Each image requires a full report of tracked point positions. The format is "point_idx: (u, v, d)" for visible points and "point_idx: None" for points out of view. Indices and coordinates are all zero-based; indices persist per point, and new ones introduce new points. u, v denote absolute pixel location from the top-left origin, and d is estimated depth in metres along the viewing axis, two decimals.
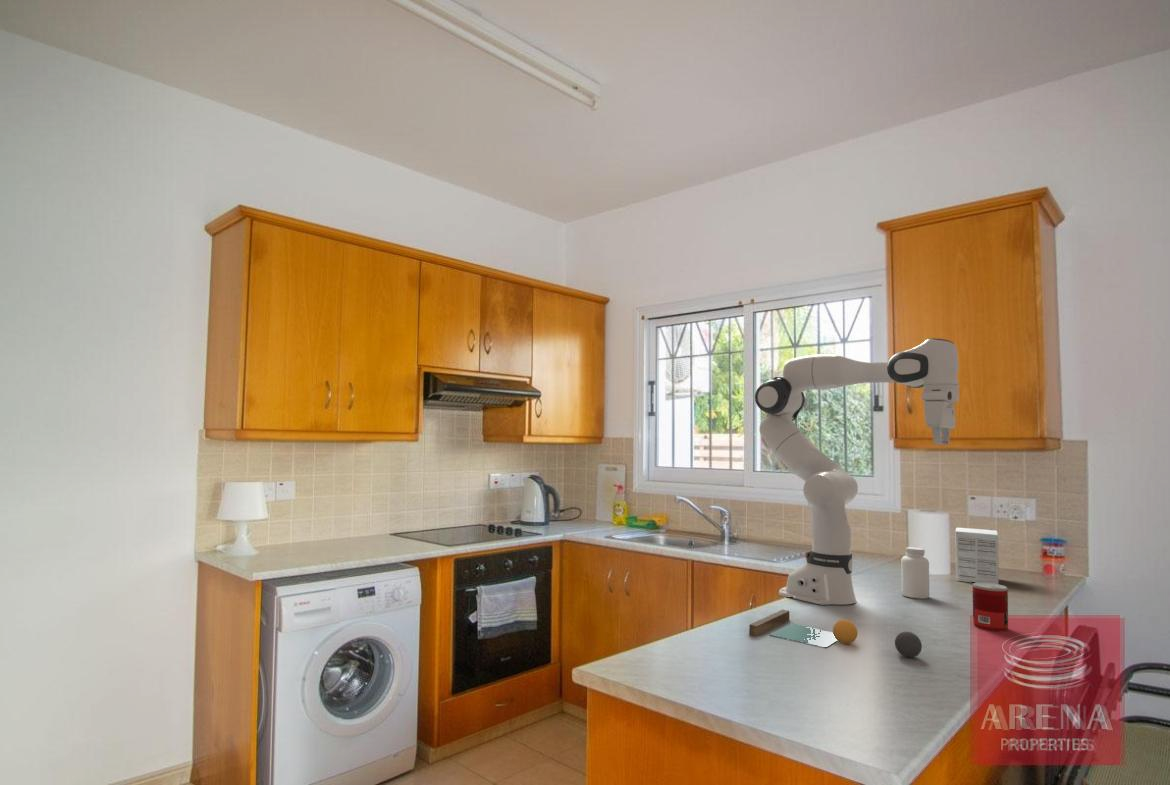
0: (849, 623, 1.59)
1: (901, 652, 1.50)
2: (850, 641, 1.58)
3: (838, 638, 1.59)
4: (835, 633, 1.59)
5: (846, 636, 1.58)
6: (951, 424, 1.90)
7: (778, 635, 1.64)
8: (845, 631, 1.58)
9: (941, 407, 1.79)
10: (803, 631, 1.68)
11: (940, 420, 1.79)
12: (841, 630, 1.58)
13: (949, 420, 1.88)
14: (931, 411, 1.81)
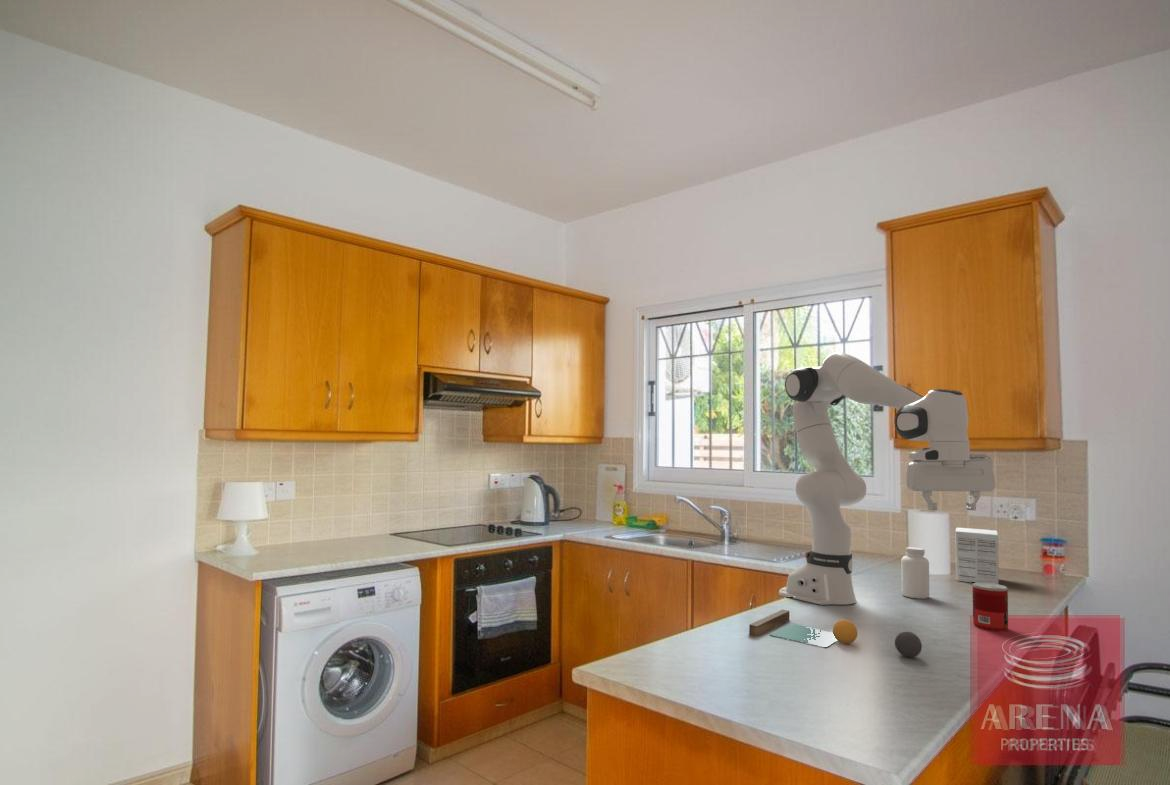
0: (849, 623, 1.59)
1: (901, 652, 1.50)
2: (850, 641, 1.58)
3: (838, 638, 1.59)
4: (835, 633, 1.59)
5: (846, 636, 1.58)
6: (971, 486, 1.63)
7: (778, 635, 1.64)
8: (845, 631, 1.58)
9: (915, 468, 1.63)
10: (803, 631, 1.68)
11: (913, 483, 1.63)
12: (841, 630, 1.58)
13: (960, 482, 1.63)
14: (909, 473, 1.66)
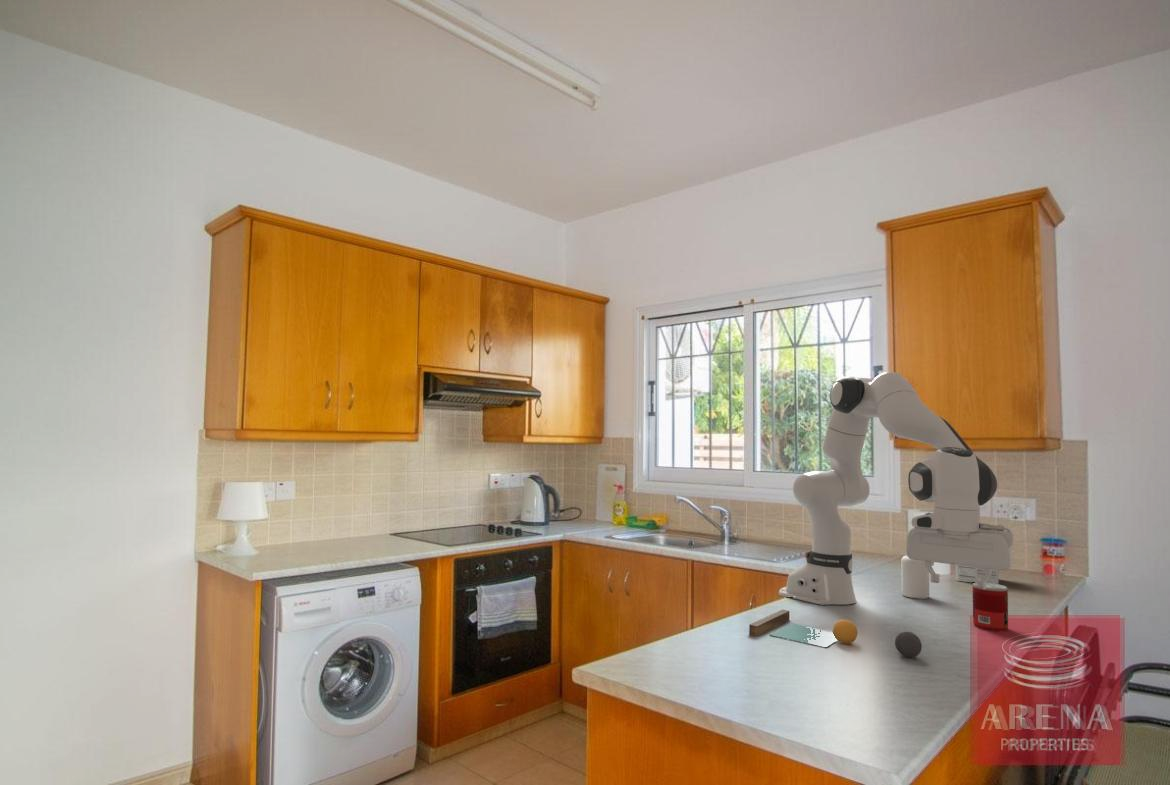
0: (849, 623, 1.59)
1: (901, 652, 1.50)
2: (850, 641, 1.58)
3: (838, 638, 1.59)
4: (835, 633, 1.59)
5: (846, 636, 1.58)
6: (976, 562, 1.42)
7: (778, 635, 1.64)
8: (845, 631, 1.58)
9: (908, 535, 1.51)
10: (803, 631, 1.68)
11: (906, 550, 1.51)
12: (841, 630, 1.58)
13: (962, 555, 1.44)
14: None
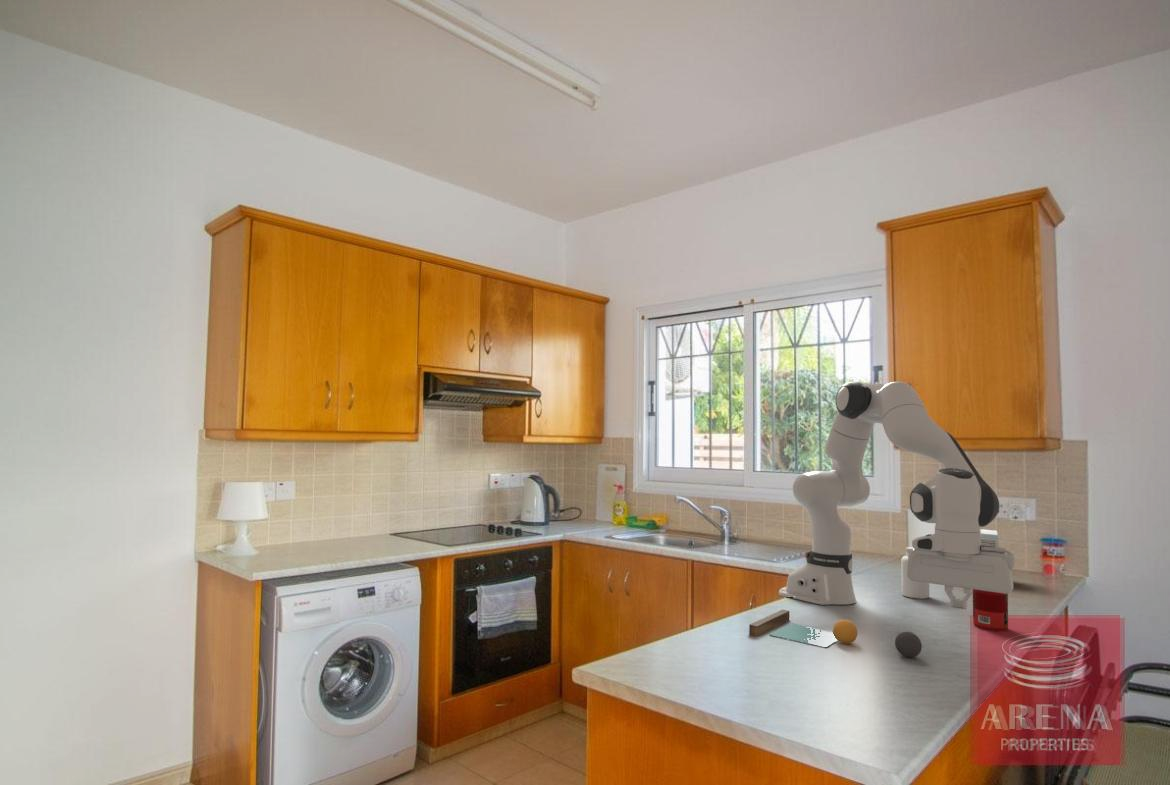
0: (849, 623, 1.59)
1: (901, 652, 1.50)
2: (850, 641, 1.58)
3: (838, 638, 1.59)
4: (835, 633, 1.59)
5: (846, 636, 1.58)
6: (977, 584, 1.42)
7: (778, 635, 1.64)
8: (845, 631, 1.58)
9: None
10: (803, 631, 1.68)
11: (907, 572, 1.51)
12: (841, 630, 1.58)
13: (963, 577, 1.44)
14: None
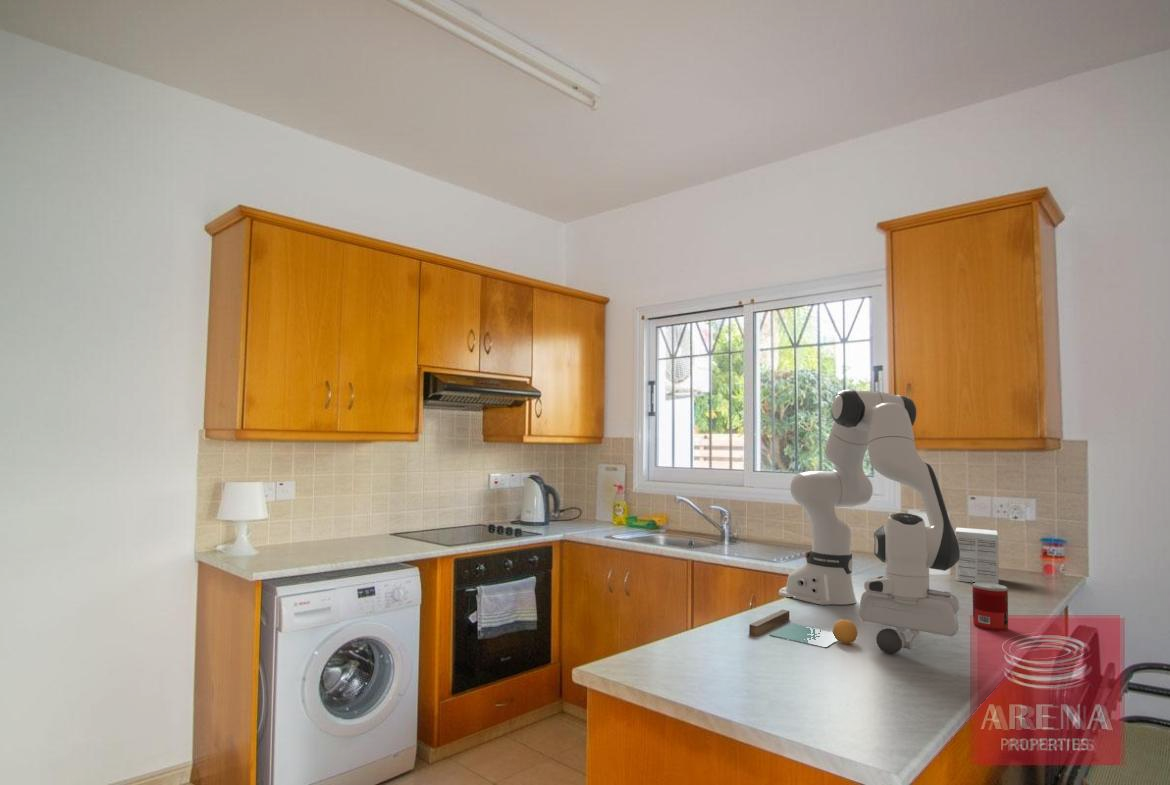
0: (849, 623, 1.59)
1: (890, 651, 1.51)
2: (850, 641, 1.58)
3: (838, 638, 1.59)
4: (835, 633, 1.59)
5: (846, 636, 1.58)
6: (924, 626, 1.48)
7: (778, 635, 1.64)
8: (845, 631, 1.58)
9: (861, 597, 1.57)
10: (803, 631, 1.68)
11: (860, 612, 1.57)
12: (841, 630, 1.58)
13: (912, 619, 1.50)
14: None
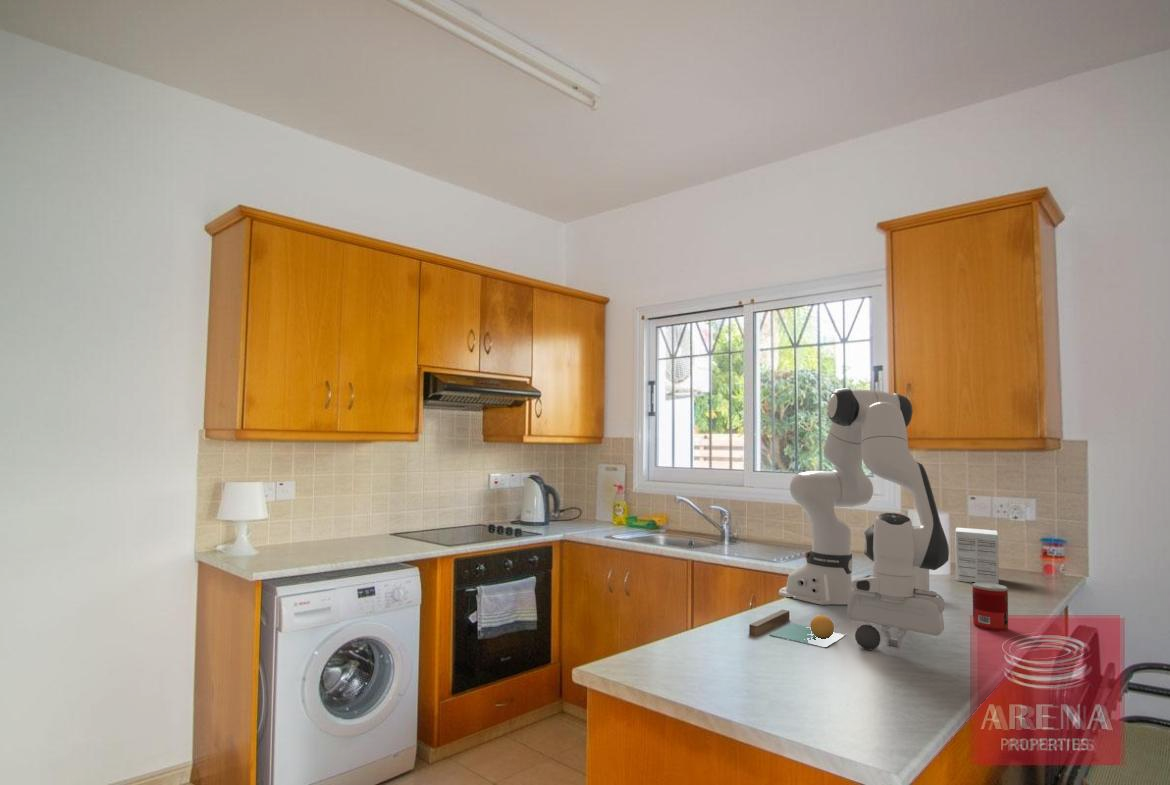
0: (810, 625, 1.65)
1: (873, 638, 1.54)
2: (823, 619, 1.62)
3: (824, 630, 1.61)
4: (822, 634, 1.61)
5: (817, 624, 1.62)
6: (910, 625, 1.50)
7: (778, 635, 1.64)
8: (814, 625, 1.63)
9: (849, 596, 1.58)
10: (803, 631, 1.68)
11: (847, 611, 1.58)
12: (815, 629, 1.62)
13: (898, 618, 1.51)
14: None
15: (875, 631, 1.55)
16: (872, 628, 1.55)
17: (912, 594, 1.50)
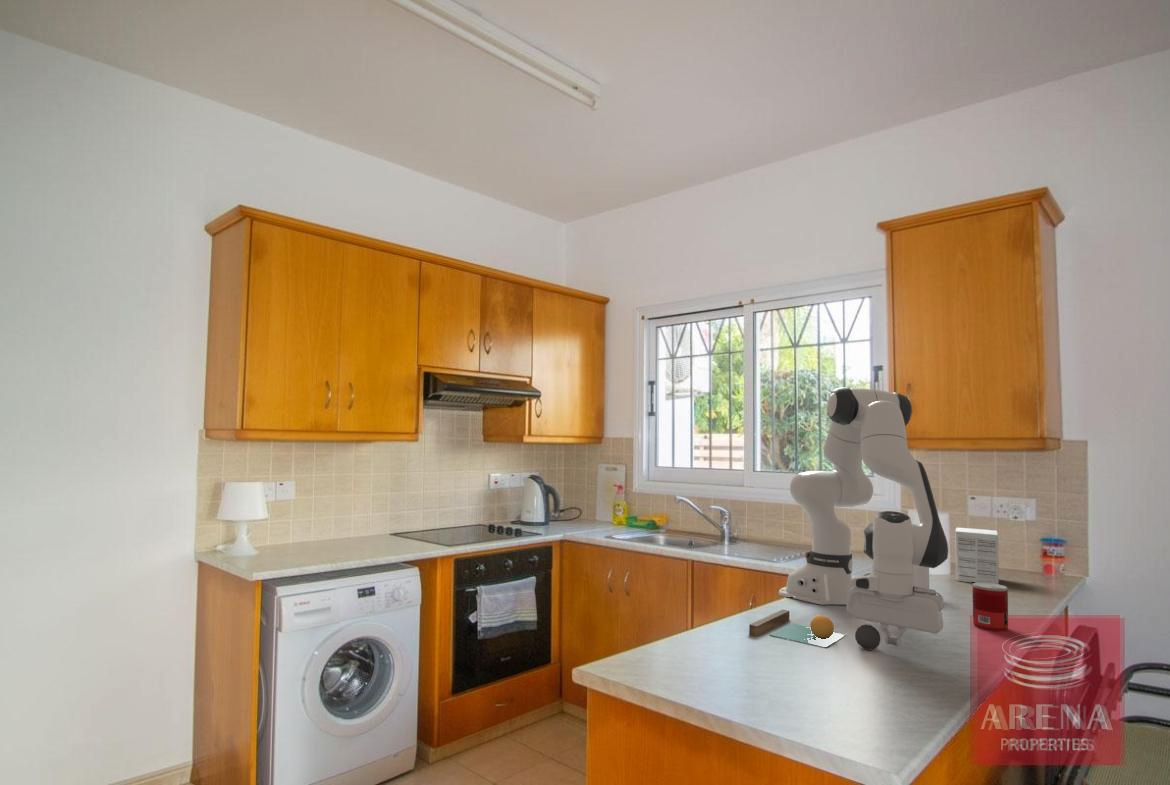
0: (810, 624, 1.65)
1: (873, 638, 1.54)
2: (823, 619, 1.62)
3: (824, 630, 1.61)
4: (822, 634, 1.61)
5: (817, 624, 1.62)
6: (909, 623, 1.50)
7: (778, 635, 1.64)
8: (814, 625, 1.63)
9: (848, 594, 1.58)
10: (803, 631, 1.68)
11: (847, 609, 1.59)
12: (815, 629, 1.62)
13: (897, 616, 1.51)
14: None
15: (875, 631, 1.55)
16: (872, 628, 1.55)
17: (911, 592, 1.51)
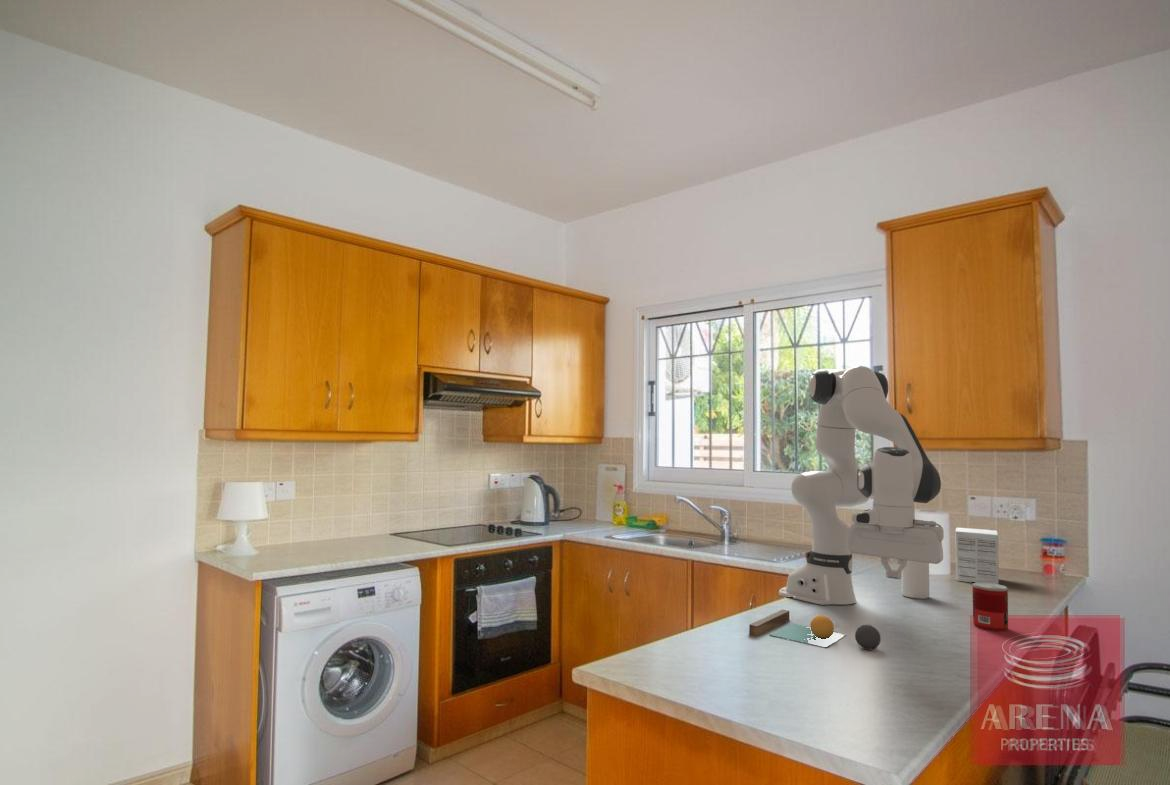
0: (810, 624, 1.65)
1: (873, 638, 1.54)
2: (823, 619, 1.62)
3: (824, 630, 1.61)
4: (822, 634, 1.61)
5: (817, 624, 1.62)
6: (910, 555, 1.51)
7: (778, 635, 1.64)
8: (814, 625, 1.63)
9: (848, 530, 1.59)
10: (803, 631, 1.68)
11: (847, 545, 1.59)
12: (815, 629, 1.62)
13: (897, 549, 1.52)
14: None
15: (875, 631, 1.55)
16: (872, 628, 1.55)
17: (912, 524, 1.51)
